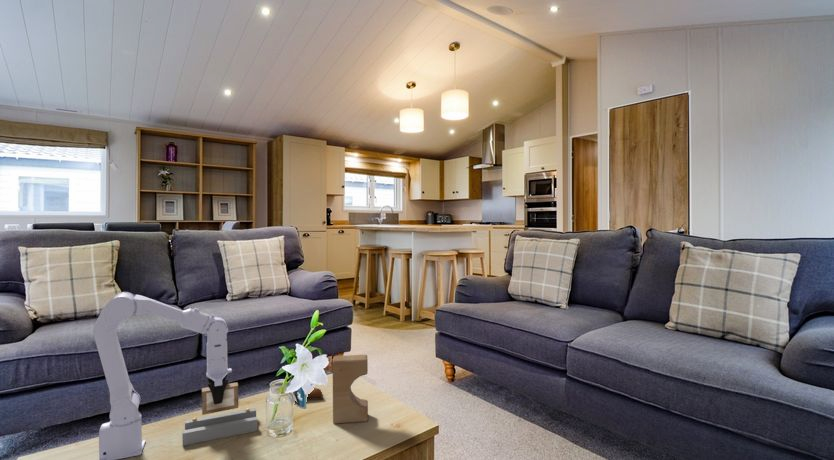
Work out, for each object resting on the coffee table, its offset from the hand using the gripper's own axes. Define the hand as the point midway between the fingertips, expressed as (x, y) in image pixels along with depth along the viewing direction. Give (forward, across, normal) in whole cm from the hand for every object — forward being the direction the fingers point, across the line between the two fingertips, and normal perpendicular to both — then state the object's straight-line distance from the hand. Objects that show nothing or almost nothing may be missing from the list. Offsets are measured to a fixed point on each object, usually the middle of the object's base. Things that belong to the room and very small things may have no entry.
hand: (217, 401), depth 126 cm
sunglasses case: (+10, +12, -26) cm, 30 cm away
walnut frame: (+3, 0, -1) cm, 3 cm away
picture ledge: (+9, -2, -1) cm, 9 cm away
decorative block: (+9, -13, -38) cm, 41 cm away
